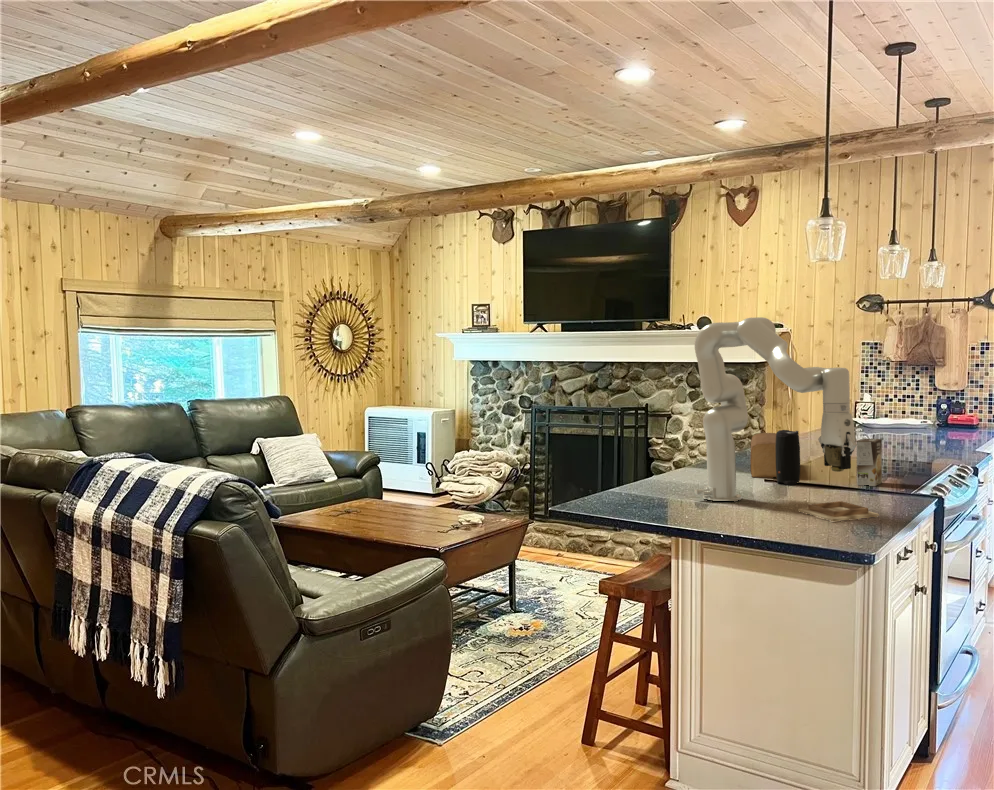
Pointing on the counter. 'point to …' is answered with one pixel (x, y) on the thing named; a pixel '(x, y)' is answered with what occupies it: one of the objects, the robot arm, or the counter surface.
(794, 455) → the portable speaker
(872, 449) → the coffee box
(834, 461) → the ornate lamp shade
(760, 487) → the counter surface
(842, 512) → the square wooden tray
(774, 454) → the bread
